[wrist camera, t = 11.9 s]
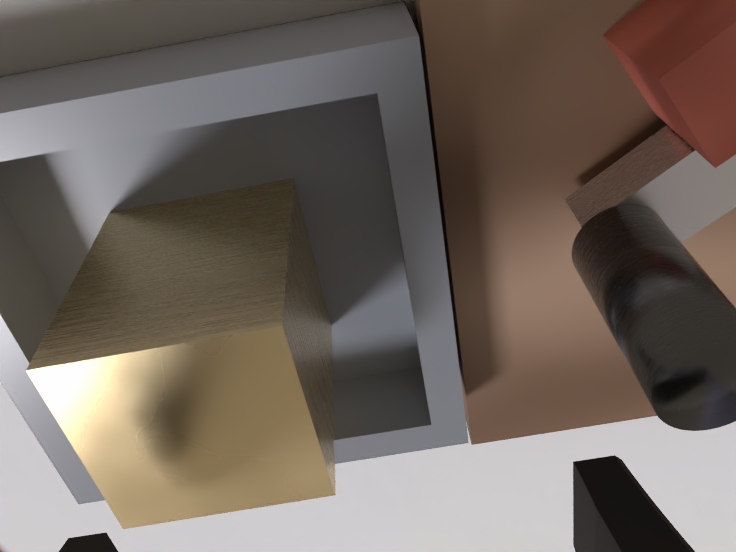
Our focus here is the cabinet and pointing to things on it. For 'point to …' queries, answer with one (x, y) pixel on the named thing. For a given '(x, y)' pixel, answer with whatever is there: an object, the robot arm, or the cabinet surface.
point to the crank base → (559, 183)
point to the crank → (662, 276)
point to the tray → (242, 169)
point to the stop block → (196, 358)
